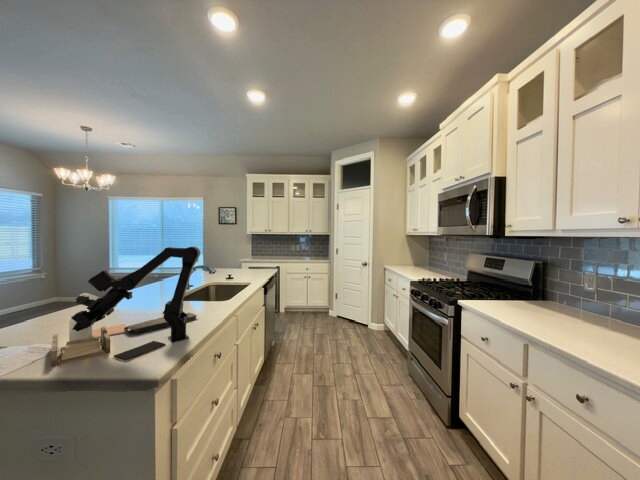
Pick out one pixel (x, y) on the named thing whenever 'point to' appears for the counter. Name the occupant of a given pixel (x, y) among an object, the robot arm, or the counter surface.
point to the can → (80, 334)
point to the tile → (110, 330)
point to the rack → (80, 348)
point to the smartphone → (139, 351)
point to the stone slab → (155, 324)
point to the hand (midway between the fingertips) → (76, 330)
